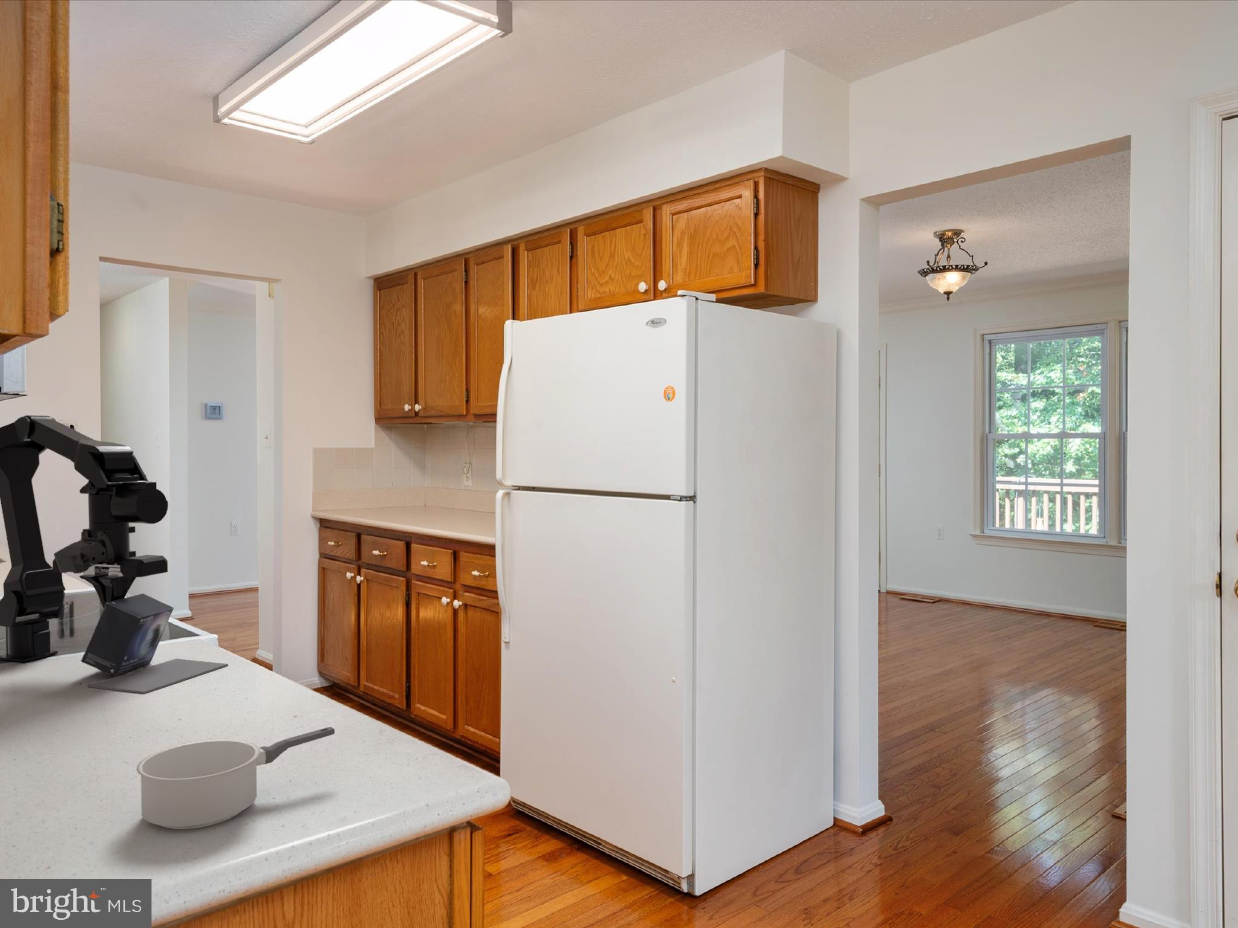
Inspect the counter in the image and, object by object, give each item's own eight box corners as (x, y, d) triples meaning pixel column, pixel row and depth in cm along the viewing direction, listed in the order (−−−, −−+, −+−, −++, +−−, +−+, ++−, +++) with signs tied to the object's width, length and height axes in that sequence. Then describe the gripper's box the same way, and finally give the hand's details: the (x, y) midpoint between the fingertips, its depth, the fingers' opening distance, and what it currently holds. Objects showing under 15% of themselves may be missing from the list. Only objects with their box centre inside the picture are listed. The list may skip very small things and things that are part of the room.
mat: (88, 686, 134) (88, 685, 134) (176, 660, 150) (176, 658, 150) (144, 693, 131) (144, 691, 131) (228, 665, 147) (228, 663, 147)
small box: (115, 678, 138) (141, 617, 138) (78, 662, 138) (103, 601, 138) (153, 663, 149) (176, 606, 149) (118, 648, 149) (141, 591, 149)
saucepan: (356, 790, 96) (355, 740, 95) (156, 848, 82) (155, 790, 82) (311, 761, 104) (311, 715, 104) (123, 810, 90) (122, 756, 90)
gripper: (19, 524, 138) (22, 622, 139) (111, 528, 133) (113, 630, 133) (82, 518, 149) (84, 609, 150) (169, 521, 143) (171, 615, 144)
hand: (111, 616), depth 144 cm, fingers closed
